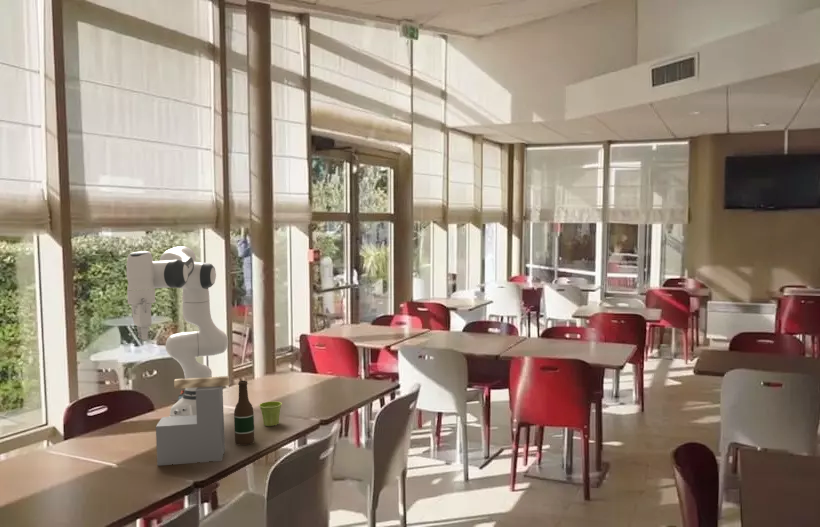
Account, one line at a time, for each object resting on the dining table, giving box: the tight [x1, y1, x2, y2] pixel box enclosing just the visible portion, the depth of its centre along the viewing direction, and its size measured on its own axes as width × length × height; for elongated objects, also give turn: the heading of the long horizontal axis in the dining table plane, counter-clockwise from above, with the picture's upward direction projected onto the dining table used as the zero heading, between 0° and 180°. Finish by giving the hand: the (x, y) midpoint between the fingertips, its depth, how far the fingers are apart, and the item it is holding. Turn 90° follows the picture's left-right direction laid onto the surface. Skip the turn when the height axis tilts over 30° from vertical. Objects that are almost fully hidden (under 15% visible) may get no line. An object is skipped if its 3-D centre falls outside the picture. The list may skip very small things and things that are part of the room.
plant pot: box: [258, 400, 283, 427], centre depth 292 cm, size 9×9×9 cm
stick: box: [173, 375, 230, 390], centre depth 251 cm, size 19×2×3 cm, turn 100°
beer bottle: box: [233, 380, 255, 446], centre depth 268 cm, size 8×8×24 cm
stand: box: [155, 386, 226, 466], centre depth 251 cm, size 22×12×26 cm, turn 100°
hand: (143, 339), depth 236 cm, fingers open, 8 cm apart
